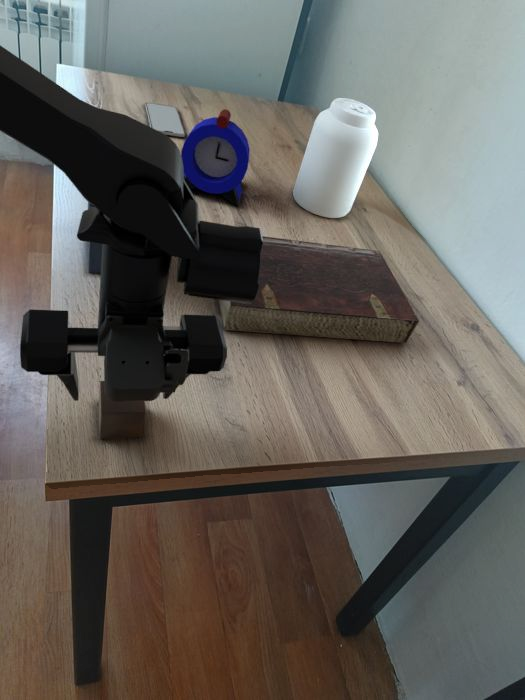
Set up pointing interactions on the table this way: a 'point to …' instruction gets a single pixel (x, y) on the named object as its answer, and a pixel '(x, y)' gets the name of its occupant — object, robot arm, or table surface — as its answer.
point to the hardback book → (323, 294)
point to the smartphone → (165, 119)
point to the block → (120, 417)
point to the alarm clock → (216, 157)
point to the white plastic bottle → (336, 158)
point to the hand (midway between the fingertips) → (121, 396)
